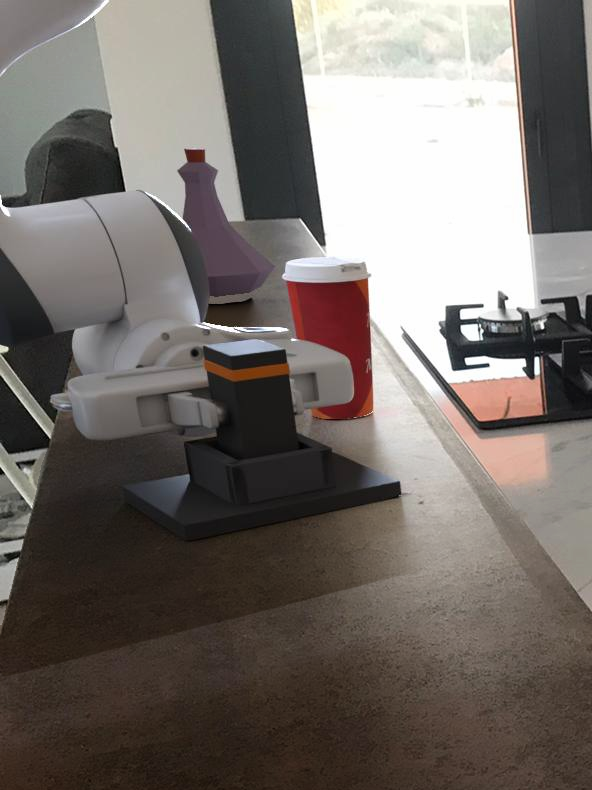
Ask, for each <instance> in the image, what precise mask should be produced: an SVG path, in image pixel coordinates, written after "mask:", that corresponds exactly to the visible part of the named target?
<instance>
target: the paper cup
mask: <svg viewBox="0 0 592 790" xmlns="http://www.w3.org/2000/svg"><path fill="white" fill-rule="evenodd" d="M284 267H285V269H284V270H285V271H284V273H282V276H281V278H282V279H283V280H284V281H286V287H287V292H288V299H289V303H290V308H291V314H292V320H293V325H294V330H295V336H296V339H298V340H305V341H309V342H313V343H316V344H319V345H322V346H324V347H327V348H330V349H332V350H334V351H337V352H339V353H341V354H343V355H344V356H346V357H347V358H348V359H349V361H350V364H351V368H352V374H353V382H354V396H353V398H352V400H351V401H350V402H348V403H345V404H338V405H331V406H325V407H319V408H312V409H310V413H311V415H313V416H314V417H313V416H312V417H313V418H315V417H318V418H317V419H319V418H321V419H320V420H325V419H347V420H349V419H348V418H354V417H360V416H364V415H367V414H369V413H371V412H372V411H373V412H374V380H373V355H372V336H371V335H372V333H371V332H372V331H371V312H370V291H369V290H370V289H369V278H371V277H372V273H371V272H370V271H368V268H367V264H366V262H365V260H364V259H362V258H356V257H345V256H344V257H343V256H321V257H320V256H319V257H318V256H317V257H304V258H296V259H291V260H288V261H286V263H285V266H284Z"/></svg>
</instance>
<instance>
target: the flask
mask: <svg viewBox="0 0 592 790" xmlns="http://www.w3.org/2000/svg"><path fill="white" fill-rule="evenodd" d="M183 151H184V154H185V157H186V161H187V162H185V163H184V164H183V165H182V166H181V167H179V169H177V170H176V172H177V173H178V175H179V176H180V178H181V179H182V181H183V182H184V191H185V194H184V195H185V197H184V205H183V211H182V218H181V219H182V220H183V221H184V222H185V223H186V224H187V226H188V227H189V228H190V230H191V231H192V233H193V235H194V236H195V238H196V240H197V242H198V245H199V247H200V250H201V253H202V256H203V259H204V262H205V266H206V270H207V275H208V282H209V294H210V296H214V297H219V296H226V295H235V294H244V293H250V292H252V291H254V290H255V289H257V288H259V287H260V288H261V287H262V286H263V285H264V283H265V282H266V280H267V279H268V277H269V276H270V274H272V272H273V270H274V269H275V267H276V265H274V264H273V263H272V262H271V261H270V260H269V259H267V257H265V256H264V255H263V254H262V253H260V252H259V251H258V250H257V249H256V248H255V247H254V246H252V244H250V243H249V242H248V241H247V240H246V239H245V238H244V237H243V236H242V235H241V234H240V233H239V232H238V231H237V230H236V229H235V228H234V227H233V226H232V225H231V224H230V222H229V220H228V218H227V215H226V212H225V210H224V208H223V206H222V204H221V201H220V199H219V196H218V192H217V190H216V185H215V182H216V179H217V174H218V172H219V170H218V169H217V168H216V167H214V166H212V164H209V163H208V162H207V161H206V148H203V147H202V148H201V147H200V148H198V147H197V148H196V147H190V148H187V147H186V148H184V149H183Z"/></svg>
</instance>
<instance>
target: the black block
mask: <svg viewBox="0 0 592 790" xmlns="http://www.w3.org/2000/svg"><path fill="white" fill-rule="evenodd" d="M203 352H204V358H205V359H204V366H205V370H206V371H207V377H208V384H209V390H210V396H211V399H221V400H223V401H225V402H227V404H228V406H229V410H230V414H229V416H230V417H231V425H230V426H226V427H220V428H216V432H215V434H216V436H217V441H218V447H219V451H220V452H222V453H224V454H226V455H228V456H230V457H232V458H234V459H236V460H238V461H240V460H245V459H251V458H257V457H262V456H268V455H274V454H279V453H285V452H291V451H296V450H299V445H298V438H297V433H298V432H297V424H296V417H295V416H296V415H294V408H293V400H292V393H291V385H290V378H289V374H290V369H289V363H287V355H286V350H285V349H283V348H280V347H277V346H274V345H272V344H269V343H266V342H263V341H260V340H257V339H253V340H244V341H236V342H228V343H220V344H211V345H204V346H203Z"/></svg>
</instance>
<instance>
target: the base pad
mask: <svg viewBox="0 0 592 790" xmlns="http://www.w3.org/2000/svg"><path fill="white" fill-rule="evenodd" d="M297 438H298V445H299V450H296V451H291V452H285V453H279V454H274V455H268V456H262V457H257V458H251V459H245V460H240V461H238V460H236V459H234V458H232V457H230V456H228V455H226V454H224V453H222V452H220V451H219V447H218V441H217V435H216V436H210V437H204V438H199V439H197V438H196V439H192V440H185V441H183V446H184V447H183V448H184V452H185V458H186V464H187V472H188V473H187V474H182V475H176V476H170V477H166V478H159V479H154V480H149V481H142V482H138V483H132V484H127V485H126V484H125V485H122V486H121V490H122V494H123V495H122V496H123V500H124V502H125V503H127V504H129V505H130V506H132V507H133V508H134V509H136V510H137V511H139V512H141V513H142V514H143V515H145V516H146V517H148V518H150V519H151V520H153V521H155V522H156V523H158V524H159V525H160V526H162V527H164V528H165V529H167V530H168V531H170V532H171V533H173V534H174V535H176V536H178V537H179V538H180V539H182V540H184V541H186V542H191V541H196V540H202V539H205V538H206V539H207V538H211V537H215V536H220V535H225V534H231V533H235V532H239V531H243V530H248V529H252V528H258V527H262V526H267V525H272V524H277V523H281V522H286V521H291V520H295V519H300V518H304V517H310V516H315V515H319V514H325V513H328V512H329V513H330V512H333V511H338V510H343V509H348V508H352V507H356V505H357V506H361V505H360V504H362V505H365V504H364V503H367V504H370V503H369V502H371V503H374V502H373V501H376V502H379V501H378V500H381V501H385V500H390V499H394V498H393V497H395V498H397V497H396V496H399V495H402V486H401V481H400V480H398V479H396V478H393V477H391V476H389V475H387V474H386V473H385V474H384V473H382V472H380V471H378V470H376V469H374V468H371V467H369V466H366V465H365V464H362V463H360V462H357V461H356V460H352V459H351V458H348V457H346V456H345V455H342V454H339V453H338V452H335V451H333V447H331V446H328V445H326V444H324V443H321V442H319V441H317V440H315V439H312V438H310V437H308V436H305V435H304V434H301V433H299V432H297ZM389 498H390V499H389ZM384 499H385V500H384Z"/></svg>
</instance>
